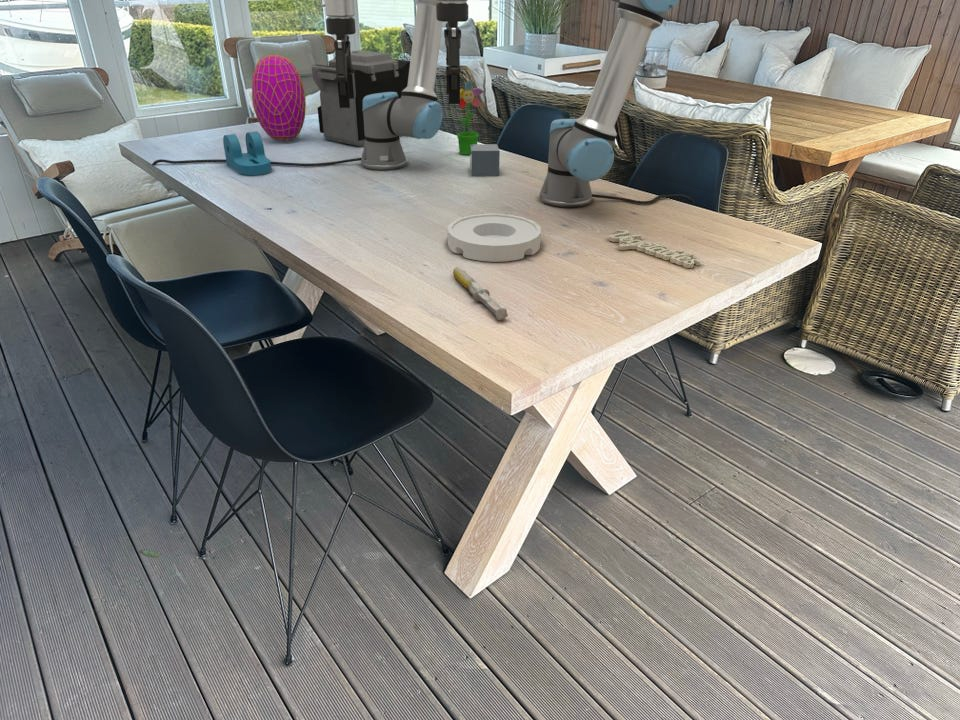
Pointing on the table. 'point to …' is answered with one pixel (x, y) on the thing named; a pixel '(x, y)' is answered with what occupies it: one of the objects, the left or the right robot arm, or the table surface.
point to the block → (484, 159)
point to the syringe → (479, 293)
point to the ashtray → (494, 237)
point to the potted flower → (468, 97)
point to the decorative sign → (653, 249)
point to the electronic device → (356, 92)
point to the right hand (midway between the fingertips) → (453, 98)
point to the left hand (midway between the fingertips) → (347, 103)
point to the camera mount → (246, 154)
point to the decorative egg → (278, 97)
